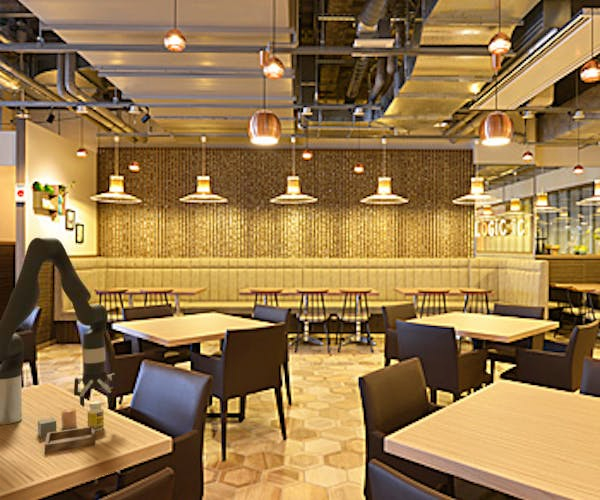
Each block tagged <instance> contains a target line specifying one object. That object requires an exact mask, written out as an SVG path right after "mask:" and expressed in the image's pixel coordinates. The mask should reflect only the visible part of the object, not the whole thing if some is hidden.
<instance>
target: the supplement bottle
mask: <svg viewBox="0 0 600 500" xmlns="http://www.w3.org/2000/svg"><path fill="white" fill-rule="evenodd" d="M104 416H105V415H104V407H102V401H101V400H94V401H93V400H92V401H91V402H89V409H87V427H91V426H94V428H95V432H98V431H101V430H102V431H103V430H104V426H105V425H104Z"/></svg>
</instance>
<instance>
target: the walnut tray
mask: <svg viewBox="0 0 600 500" xmlns="http://www.w3.org/2000/svg"><path fill="white" fill-rule="evenodd" d="M95 432H96V431H95V428H94V426H91V427H88V426H85V427H79V428H72V429H62V430H57V431H56V432H49V433H47V436H46V437H45V441H44V454H46V455H47V454H52V453H57V452H62V451H63V452H64V451H65V452H66V451H71V450H76V449H83V448H89V447H95V446H96V435H95Z"/></svg>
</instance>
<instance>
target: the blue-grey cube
mask: <svg viewBox="0 0 600 500" xmlns="http://www.w3.org/2000/svg"><path fill="white" fill-rule="evenodd" d="M56 431H58V430H57V420H56V418H54V417H48V418H44V419H43V418H42V419H39V420H37V435H38V436H39V437H40V439H43V438H46V436H47V433H49V432H56Z"/></svg>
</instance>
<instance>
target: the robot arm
mask: <svg viewBox="0 0 600 500" xmlns="http://www.w3.org/2000/svg"><path fill="white" fill-rule="evenodd" d="M26 249H27V250H26V252H25V256H24V259H23V263H22V266H21V269H20V272H19V274H18V278H17V280H16V283H15V286H14V288H13V290H12V292H11V295H10V297H9V301H8V303H7V306H6V308H5V309H4V312H3V314H2V317H1V319H0V361H2V363H1V364H0V426H1V425H9V424H13V423H17V422H20V421H22V419H23V406H22V405H23V401H22V400H23V399H22V398H23V397H22V369H23V368H24V353H25V352H24V351H25V348H24V347H25V346H24V340H23V339H22V337H21V336H20V335H19V334H17V333H16V331H17V330H18V329H19V327H20V326H21V325H22V324H23V323H24V322H25V321H26V320H27V319H28V318H29V317H30V316H31V314H33V312H34V311H35V308H36V306H37V304H38V301H39V298H40V296H41V287H40V283H39V274H40V272H41V269H42V266H43V264H44V263H46V262H47V263H48V262H49V263H52V264H53V265H54V266H55V267H56V269H57V270H58V272H59V276H60V283H61V284H60V285H61V288H62V290H63V292H64V293H65V295H66V297H67V298H68V299H69V301H70V302H71V303H72V307H73V310H74V313H75V317H76V319H77V320H78V322H80V324H82V325H84V326H90V327H89V330H88V331H86V332H85V333H84V334H83V352H82V354H83V356H82V357H83V358H82V364H83V377H75V378H74V383H73V384H74V386H73V387H74V388H73V389H74V391H73V395H74V396H77V397H79V406H81V407H82V408H84V407H85V395H86V394H85V393H86V392H87V391H88V390H89V389H92V390H93V389H100V388H101V387H102V388H103V389H104V390H105V391H106V394H107V395H106V397H107V401H106V402H107V404H110V402H112V398H113V397H112V393H113V392H115V391H117V380H116V374H115V372H112V373H111V374H107V367H106V365H107V363H106V361H107V359H106V358H107V357H106V356H107V355H106V348H105V333H106V328H107V323H108V320H109V318H108V317H109V315H108V314H109V313H108V310H107V308H106V307H105V306H104V305H102V304H98V303H97V304H92V305H90V303H89V301H90V300H91V298H92V294H91V292H90V291H89V289H88V288H87V286H86V285H85V283H84V282H83V281H82V280H81V278H80V277H79V275H78V273H77V272H76V269H75V267H74V266H73V263H72V261H71V259H70V257H69V255H68V251H67V250H66V249H65V247H64V245H63V243H62V242H61V240H59V239H58V238H56V237H52V236H51V237H49V236H45V237H44V236H43V237H42V236H38V237H34V238H33V239H32V240H31V241H30V242H29V244H28V246H27V248H26ZM108 379H109V380H110V381H111V384H112V386H111V387H110V386H109V384H107V383H106V382H107V380H108ZM82 382H83V384H84V386H83V388H82V389H81V391H79V385H81V383H82Z"/></svg>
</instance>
